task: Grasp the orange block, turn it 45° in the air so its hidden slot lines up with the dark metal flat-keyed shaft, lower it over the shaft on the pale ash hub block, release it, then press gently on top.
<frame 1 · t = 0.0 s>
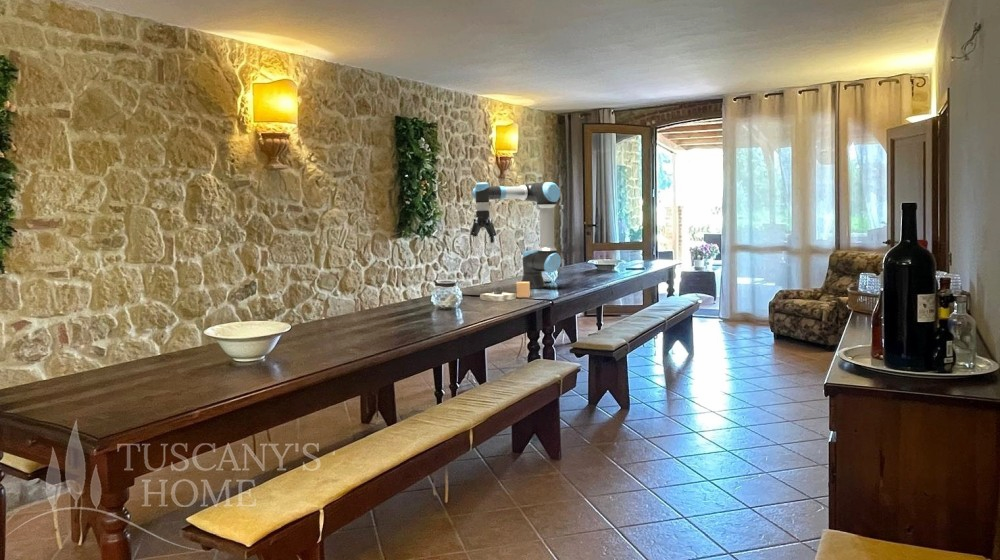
hand: (483, 248, 393), 28 cm above the table, fingers open, 13 cm apart
orange block: (523, 296, 395), on the table
hub: (498, 299, 386), on the table
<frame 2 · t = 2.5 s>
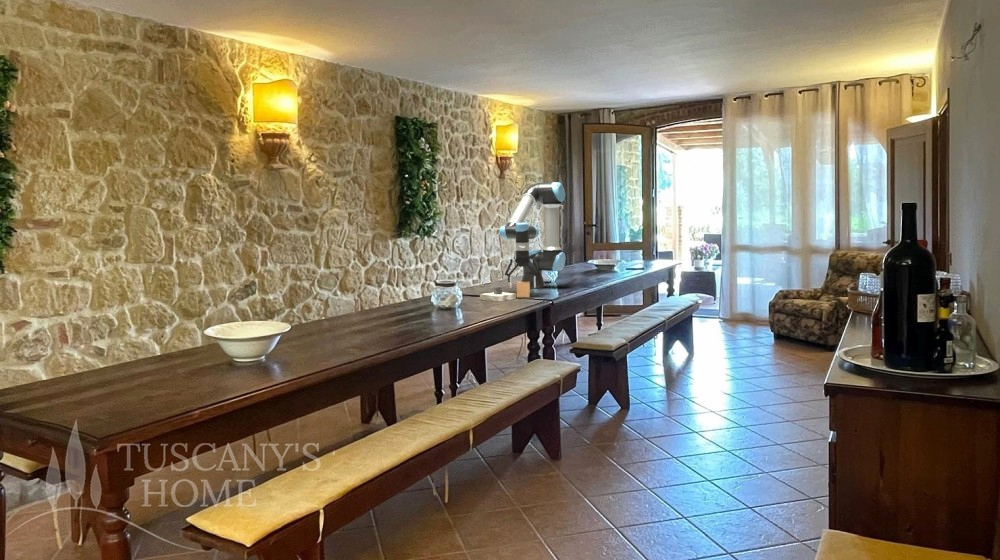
hand: (522, 287, 395), 5 cm above the table, fingers open, 13 cm apart
nothing on the table moved.
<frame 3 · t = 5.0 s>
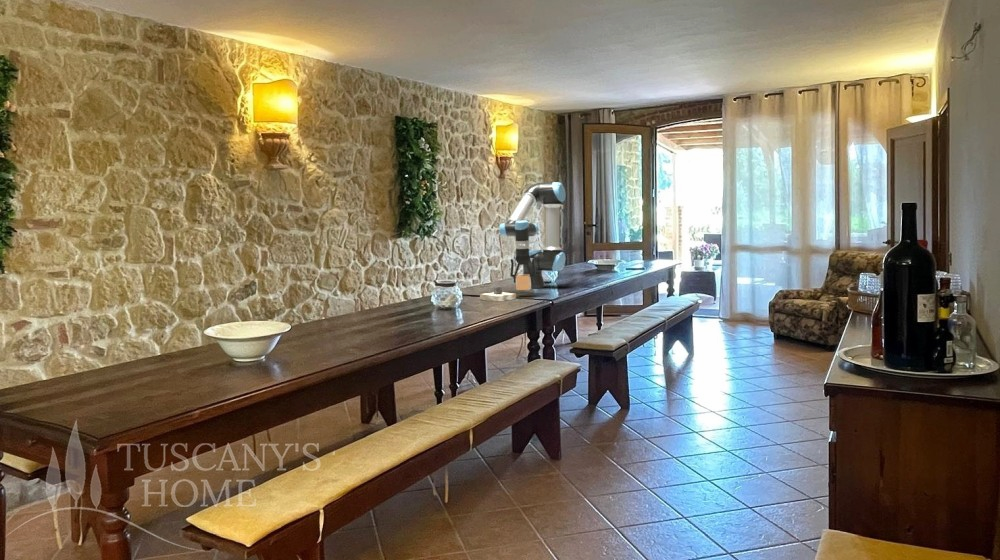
hand: (523, 288, 395), 4 cm above the table, fingers closed on orange block, 7 cm apart
orange block: (523, 289, 396), point 4 cm above the table, touching gripper
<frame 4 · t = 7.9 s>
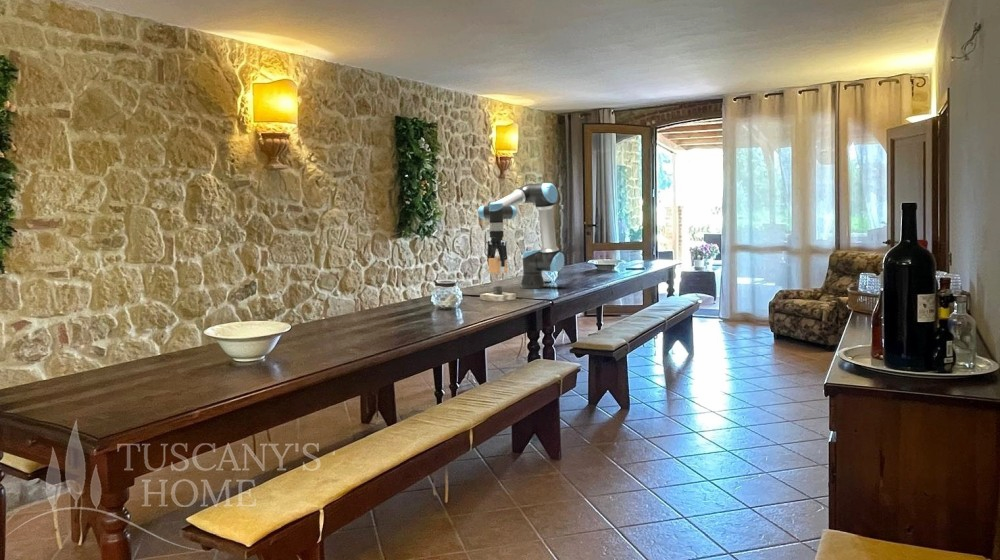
hand: (497, 272, 384), 15 cm above the table, fingers closed on orange block, 7 cm apart
orange block: (497, 272, 385), point 15 cm above the table, touching gripper
when the fingers open (5 cm above the table, at t = 11.0 s): orange block drops 2 cm, resting on hub.
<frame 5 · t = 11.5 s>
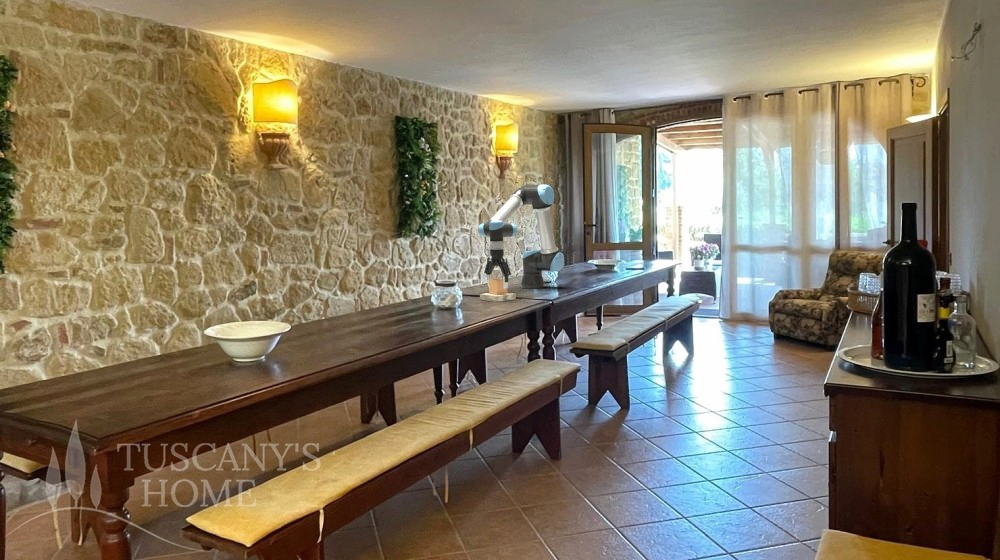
hand: (497, 287, 385), 7 cm above the table, fingers open, 13 cm apart
orange block: (498, 293, 386), point 3 cm above the table, touching hub
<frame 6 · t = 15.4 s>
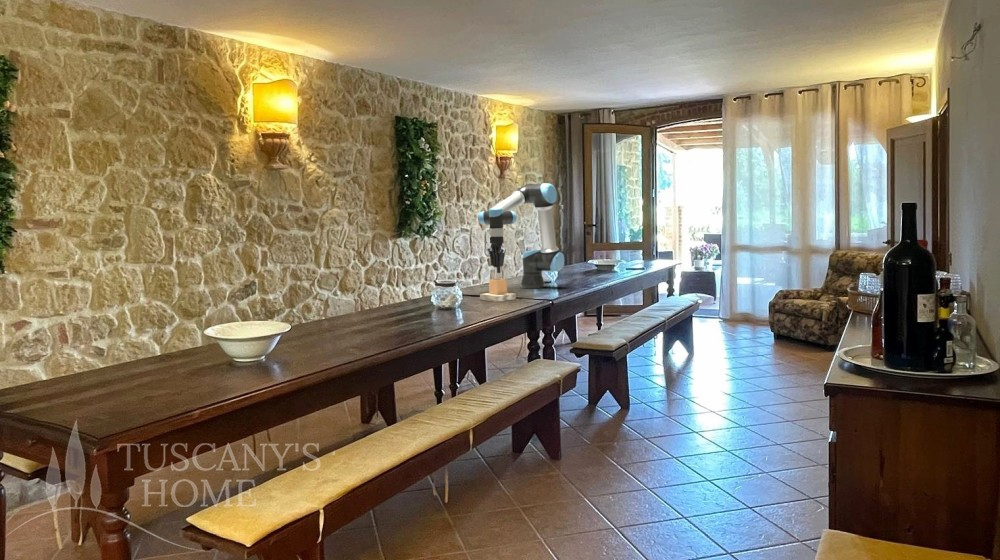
hand: (497, 278, 385), 11 cm above the table, fingers closed
nothing on the table moved.
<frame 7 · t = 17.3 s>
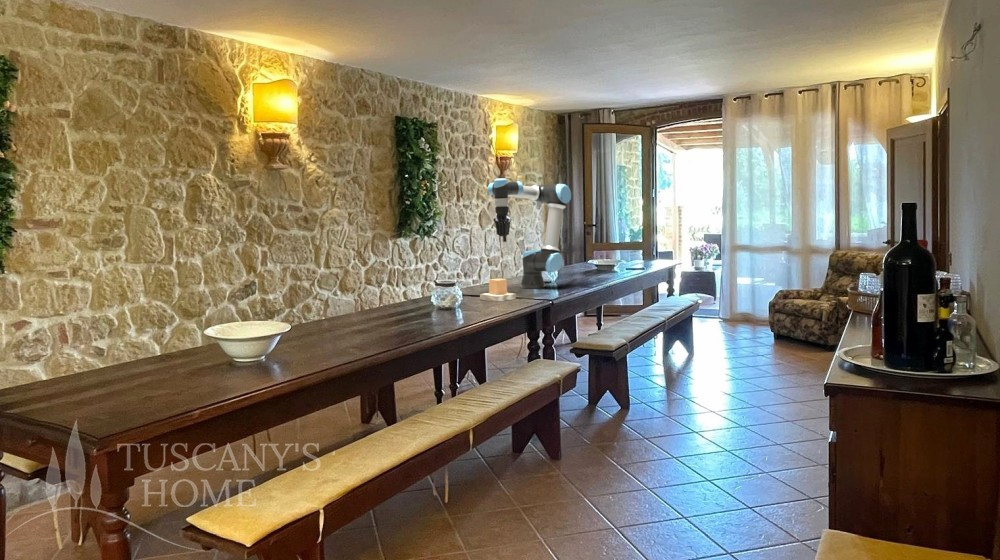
hand: (503, 247, 398), 28 cm above the table, fingers closed
nothing on the table moved.
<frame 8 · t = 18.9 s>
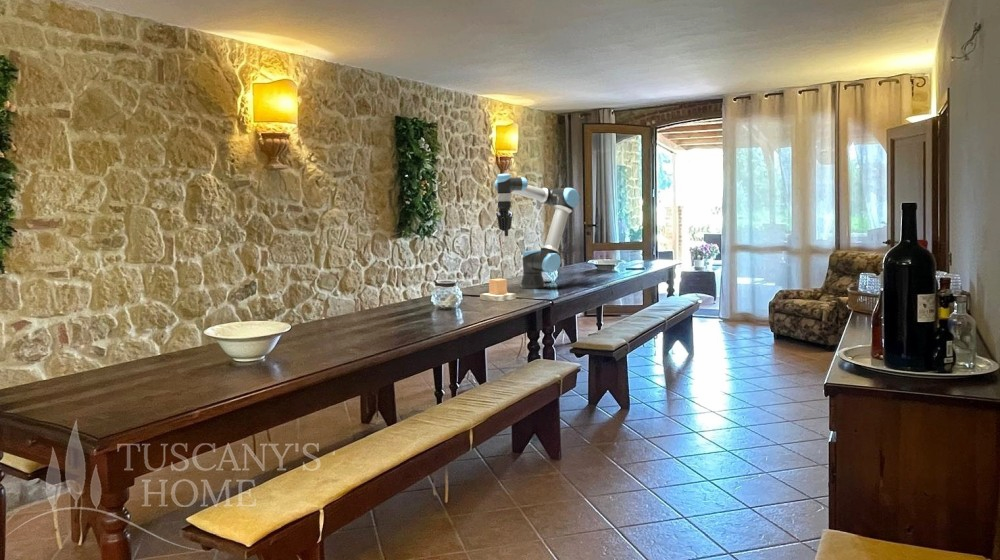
hand: (505, 241, 405), 30 cm above the table, fingers closed
nothing on the table moved.
at the end: orange block 0.2 cm from the hub (horizontally); orange block point 3.0 cm above the table; orange block tilted 0° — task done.
